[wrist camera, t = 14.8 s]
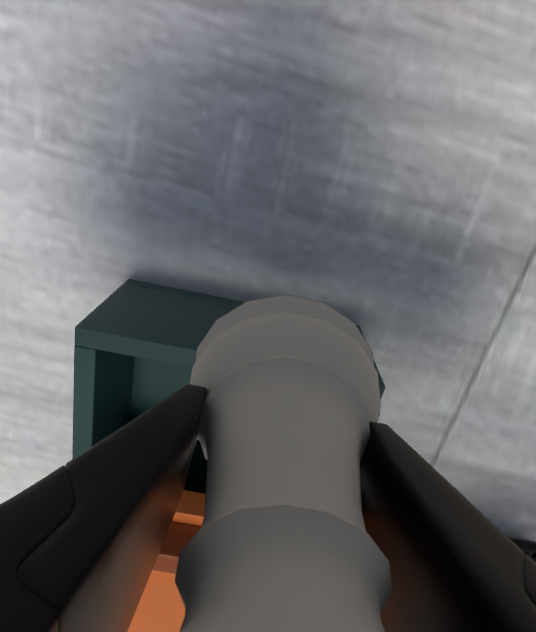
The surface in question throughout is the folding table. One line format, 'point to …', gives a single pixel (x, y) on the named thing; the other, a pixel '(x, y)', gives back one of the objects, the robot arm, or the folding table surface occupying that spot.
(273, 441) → the rook chess piece
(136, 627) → the bin lid
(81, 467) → the robot arm
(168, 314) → the bin
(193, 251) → the folding table surface
